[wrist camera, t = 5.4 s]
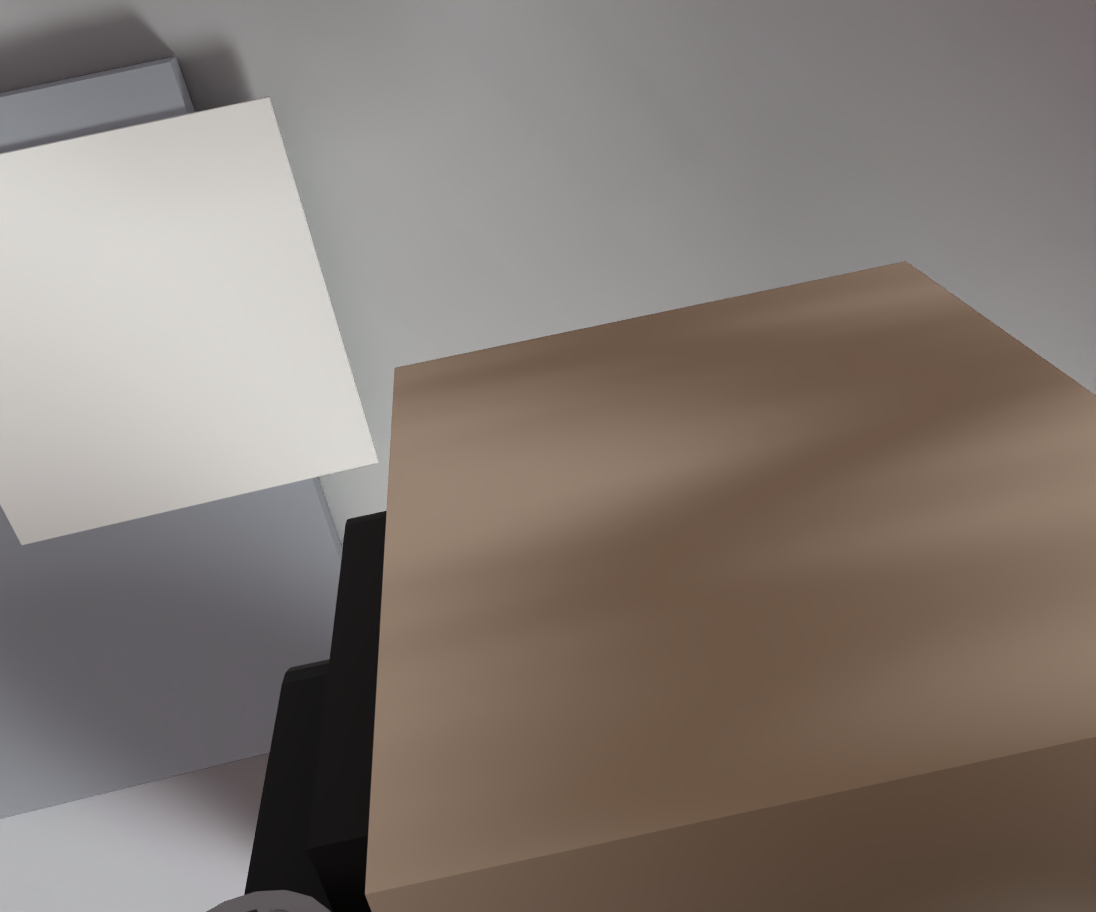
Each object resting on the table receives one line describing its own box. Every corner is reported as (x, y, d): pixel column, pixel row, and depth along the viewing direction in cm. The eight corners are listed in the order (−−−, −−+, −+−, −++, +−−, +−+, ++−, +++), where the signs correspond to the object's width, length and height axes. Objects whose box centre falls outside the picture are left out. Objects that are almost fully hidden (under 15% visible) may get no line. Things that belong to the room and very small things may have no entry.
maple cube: (905, 261, 10) (1466, 655, 5) (909, 661, 12) (1282, 1227, 7) (393, 367, 10) (363, 894, 5) (498, 750, 12) (558, 1389, 7)
